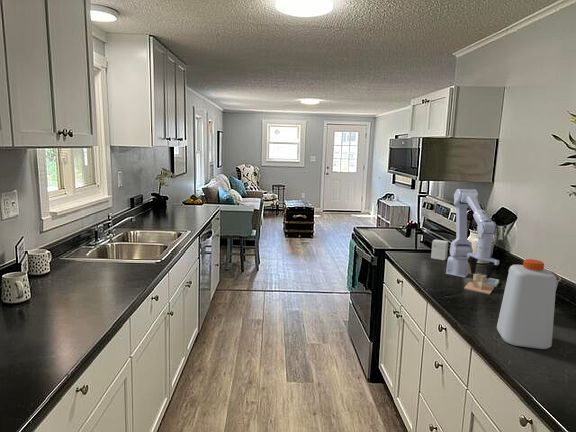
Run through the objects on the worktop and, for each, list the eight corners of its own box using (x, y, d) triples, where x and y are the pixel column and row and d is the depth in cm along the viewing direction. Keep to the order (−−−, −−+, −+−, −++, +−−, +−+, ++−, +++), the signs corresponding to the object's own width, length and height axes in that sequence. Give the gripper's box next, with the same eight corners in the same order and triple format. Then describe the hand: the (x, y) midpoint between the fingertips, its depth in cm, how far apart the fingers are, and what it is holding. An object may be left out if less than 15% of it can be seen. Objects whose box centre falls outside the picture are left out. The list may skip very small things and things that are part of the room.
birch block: (472, 286, 196) (473, 274, 195) (477, 285, 198) (479, 272, 197) (480, 289, 192) (482, 277, 191) (486, 287, 195) (488, 275, 193)
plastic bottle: (538, 332, 151) (550, 257, 146) (555, 352, 136) (568, 270, 131) (493, 326, 154) (503, 253, 149) (504, 345, 140) (516, 265, 135)
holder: (478, 283, 203) (478, 280, 203) (481, 279, 209) (481, 276, 209) (496, 286, 198) (496, 283, 198) (498, 282, 205) (499, 279, 204)
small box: (446, 258, 245) (448, 241, 244) (444, 260, 241) (446, 242, 239) (432, 256, 250) (434, 239, 248) (430, 258, 245) (432, 240, 243)
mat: (463, 288, 194) (464, 287, 194) (469, 282, 203) (469, 281, 203) (489, 294, 188) (489, 293, 188) (494, 288, 197) (494, 286, 196)
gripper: (504, 250, 188) (500, 279, 190) (474, 243, 200) (471, 270, 202) (495, 252, 184) (491, 281, 187) (465, 244, 196) (462, 272, 198)
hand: (480, 275), depth 194 cm, fingers open, 7 cm apart
